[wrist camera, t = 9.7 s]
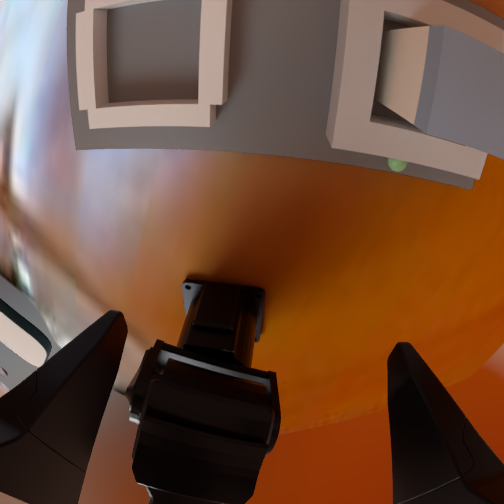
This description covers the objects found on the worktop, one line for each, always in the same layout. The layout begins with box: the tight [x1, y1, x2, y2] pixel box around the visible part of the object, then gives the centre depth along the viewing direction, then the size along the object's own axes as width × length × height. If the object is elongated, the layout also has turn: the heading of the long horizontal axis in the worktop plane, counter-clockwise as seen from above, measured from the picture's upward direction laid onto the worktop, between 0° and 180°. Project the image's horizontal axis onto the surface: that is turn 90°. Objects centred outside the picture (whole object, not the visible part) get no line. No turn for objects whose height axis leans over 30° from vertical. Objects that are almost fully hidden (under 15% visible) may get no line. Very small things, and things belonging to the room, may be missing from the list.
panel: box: [67, 0, 504, 190], centre depth 13 cm, size 12×26×4 cm, turn 87°
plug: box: [375, 25, 504, 159], centre depth 10 cm, size 4×4×7 cm
